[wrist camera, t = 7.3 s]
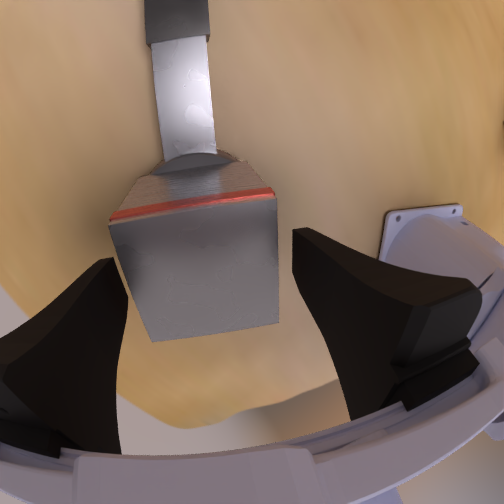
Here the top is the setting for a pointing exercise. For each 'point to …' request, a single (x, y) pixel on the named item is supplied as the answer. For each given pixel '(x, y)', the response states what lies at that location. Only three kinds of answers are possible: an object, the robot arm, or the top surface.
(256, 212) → the red-striped grey block
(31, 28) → the top surface
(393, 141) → the top surface
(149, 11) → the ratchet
